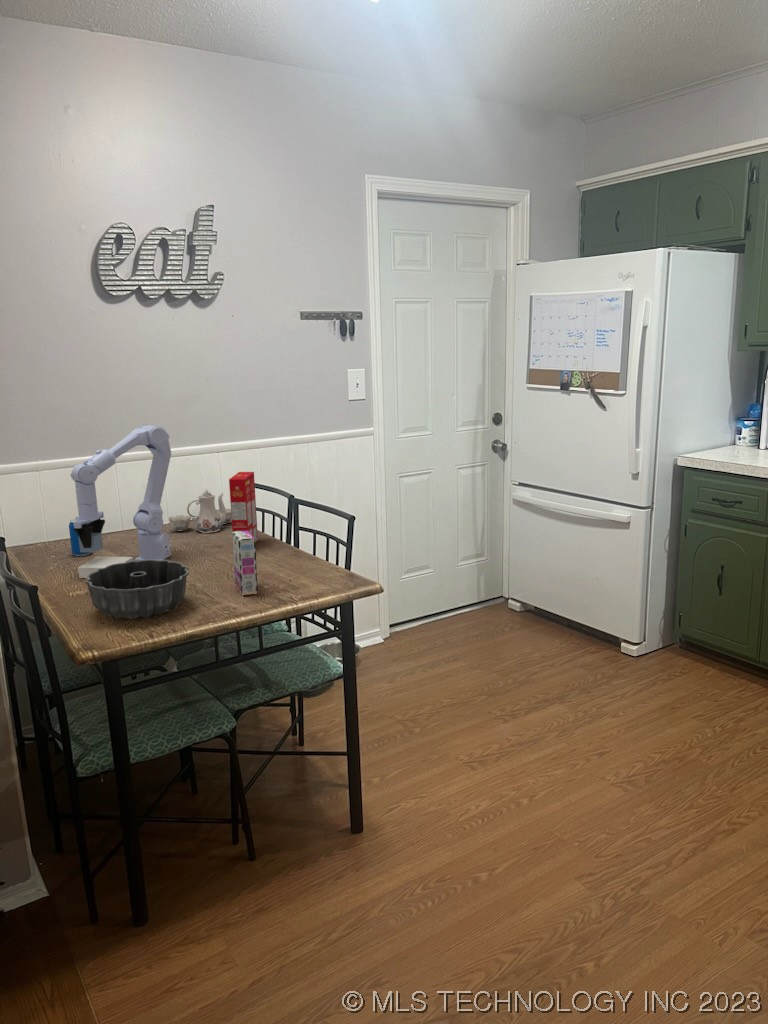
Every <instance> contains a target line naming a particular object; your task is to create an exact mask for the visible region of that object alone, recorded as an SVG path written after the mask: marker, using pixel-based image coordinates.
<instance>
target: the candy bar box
mask: <svg viewBox="0 0 768 1024" xmlns="http://www.w3.org/2000/svg"><path fill="white" fill-rule="evenodd" d="M231 534H232V549H233V550H232V551H233V552H232V553H233V569H234V573H233V574H234V585H235V584H236V585H237V587H238V588H239V590H240V591H241V593H246V592H252V591H258V590H259V589H258V571H257V551H256V550H257V548H256V546H257V545H256V544H257V543H255V538H254V537H253V536H252V534H251V533H250V532H249V531H248V530H246V531H236V532H232V531H231ZM237 587H236V588H237ZM239 590H238V591H239ZM258 592H259V591H258Z"/></svg>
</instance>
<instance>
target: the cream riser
mask: <svg viewBox="0 0 768 1024" xmlns="http://www.w3.org/2000/svg"><path fill="white" fill-rule="evenodd" d="M129 561H134V557H133V556H95V557H94V558H92V559H90V560H88V561H87V562H85V563H83V564H81V565H80V566H78V567H77V571H78V578H87V576H88V575H89V574H90V573H93V572H95V571H96V570H97V569H100V568H105V567H107V566H109V565H112V564H117V563H126V562H129Z"/></svg>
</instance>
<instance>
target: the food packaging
mask: <svg viewBox="0 0 768 1024" xmlns="http://www.w3.org/2000/svg"><path fill="white" fill-rule="evenodd" d="M255 484H256V483H255V471H239V472H236V474H234V475H233V476H232V477H230V478H229V479H228V485H229V498H230V499H229V500H230V509H231V517H232V518H231V529H232V531H231V533H232V532H236V531H246V530H248V531H249V532H250V533H251V534H252V536H253V537H254V538H255V540H256V539H257V538H258V539H259V536H258V535H259V534H258V521H257V518H258V517H257V504H256V503H257V501H256V500H257V498H256V488H255V487H256V486H255Z"/></svg>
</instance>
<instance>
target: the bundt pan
mask: <svg viewBox="0 0 768 1024" xmlns="http://www.w3.org/2000/svg"><path fill="white" fill-rule="evenodd" d="M189 569H190V568H189V566H186V565H184V563H182V562H180V561H172V560H169V559H165V560H140V561H135V560H133V561H129V562H126V563H117V564H112V565H109V566H107V567H105V568H100V569H97V570H96V571H95V572H93V573H90V574H89V575H88V576H87V579H85V580H84V582H85V584H86V585H87V588H88V591H89V597H90V599H91V602H92V605H93V606H94V608H96V610H97V611H100V612H101V613H102V614H103V615H106V616H108V617H114V618H115V619H117V620H121V619H120V618H122V619H124V618H126V619H130V620H135V619H138V618H139V617H143V618H144V617H145V619H148V618H149V617H150V616H151V615H153V616H159V615H162V614H164V613H166V612H167V611H166V610H171V611H172V610H174V609H175V608H176V607H177V606H178V605H179V604H181V602H182V601H183V599H184V598H185V594H186V590H187V589H186V588H187V579H188V578H187V576H189V574H190V573H189V572H190V571H189ZM123 617H124V618H123ZM134 618H135V619H134Z"/></svg>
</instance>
